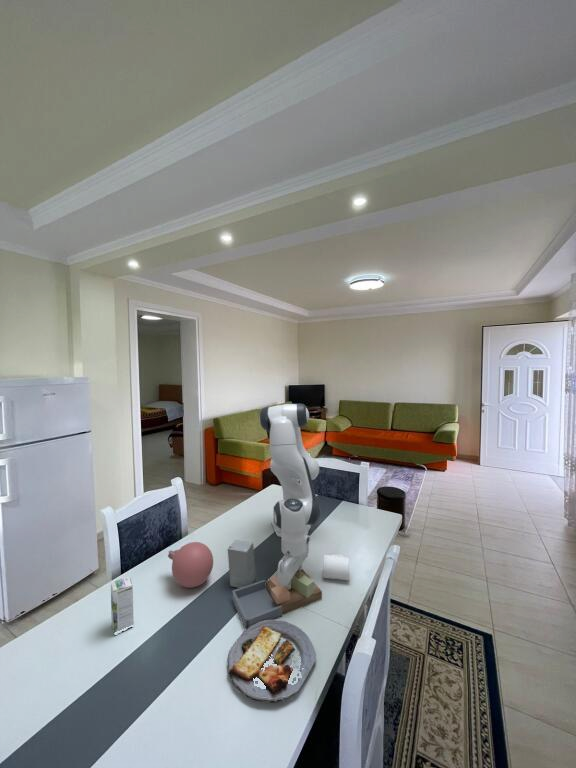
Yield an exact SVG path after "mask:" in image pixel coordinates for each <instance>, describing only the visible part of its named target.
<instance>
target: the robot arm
mask: <svg viewBox="0 0 576 768" xmlns="http://www.w3.org/2000/svg"><path fill="white" fill-rule="evenodd" d="M259 411H260V412H259V416H258V417H259V418H258V420H259V424H260V426H261V428H262V429H264V430H265V431H266V432H267V433H269V453H270V458H271V460H270V463H269V467H270V471H271V472H272V473H273V474H274V476H275V477H276V478H277V479H278V481H279V483H280V485H281V486H280V487H281V489H282V500H278V501H277V502H276V503H275V505H273V519H272V520H271V522H270V523H271V525H272V528H273V530H274V532H275V534H276V536H277V537H279V538H281V541H280V542H281V549H280V550H281V552H282V554H283V557H281V559H280V560H279V561H278V565H277V571H276V575H277V583H278V584H280V585H283V586H286V588H287V589H289V590H290V589H291V587H292V583H291V582H290V581H291V579H292V578H293V576H294V575H295V573H296V572H297V570H300V571H301V569H302V567H303V566H302V565H303V563H304V562H305V560H306V559H307V557H308V554H309V548H310V547H309V546H310V540H311V536H310V535H309V532H310V531H309V530H310V529H311V527H312V526H311V525H315V524H316V523H318V521H319V519H320V518H321V508H320V504H319V501H318V498H317V495H316V492H315V488H314V484H313V481H314V480H315V479H316V478H317V477H318V475H319V473H320V466H319V465H320V464H319V463H318V461H317V460H316V459H315V458H314V457H312V456H311V455H310V454H309V453H308V451H307V449H306V448H305V446H304V443H303V440H302V439H303V438H302V433H301V428H303V427H305V426H307V425H308V423H309V419H310V412H309V410H308V408H307V406H306V405H305V404H304V403H287V404H286V403H285V404H284V403H283V404H279V405H274V406H266V407H263V408H262V409H261V410H259ZM298 480H300V482H299V481H298Z"/></svg>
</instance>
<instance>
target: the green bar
mask: <svg viewBox="0 0 576 768" xmlns="http://www.w3.org/2000/svg"><path fill="white" fill-rule="evenodd" d="M310 578H311V577H310ZM310 578H308V577H307V576H305V575H303V572H301V571H300V570H297V572H296V573H295V575H294V576H293V578H292V579H291V581H290V582H291V583H292V588H293V589H295V590H296V591H298V592H299V593H301V594H302V595H303V596H305V597H306V598H308V597H309V596H311V595H312V594H313V593H314V583H315V581H314V580H313V579H312V578H311V579H312V580H311V579H310Z"/></svg>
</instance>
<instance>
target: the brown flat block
mask: <svg viewBox="0 0 576 768" xmlns="http://www.w3.org/2000/svg"><path fill="white" fill-rule="evenodd" d="M301 572H303V575H305V576H307V577H308V578H310V579H311V580H313V579H312V578H311V577H310V576H309V574H307V572H306V571H305V570H304V568H301ZM265 581H266V580H265ZM271 588H272V587H271V586H270V585H269V580H267V581H266V590H267V591H268V593H269V594H270V596H271ZM288 591H289V592H290V600H287V601H285V602H283V603H280V604H278V605H277V604H276V602H275V601H274V599H273V598H272V596H271V598H272V599H273V601H274V602H275V604H276V606H277V607H278V606H280V605H282V616H284V615H286V614H289V613H292V612H294V611H297V610H299V609H301V608H304V607H306V606H308V605H311V604H314V603H316V602H319V601H321V600H322V599H323V591H322V590H321V588H320V587H319V586H318V585H317V584H316V583H315V582H314V593H313V594H312V595H311V596H309V597H308V598H306V597H305V596H303V595H302V594H301V593H299V592H298V591H296V590H295V589H293V588H292V587H291V589H290V590H289V589H288Z"/></svg>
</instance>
